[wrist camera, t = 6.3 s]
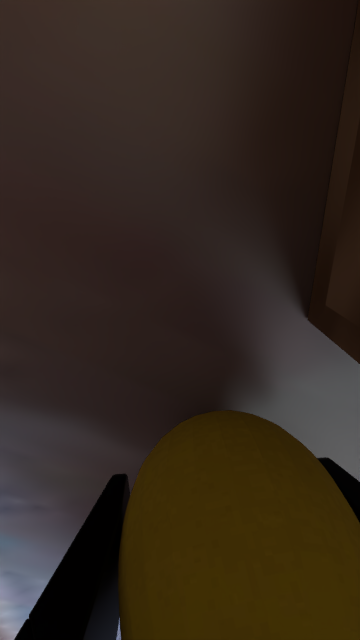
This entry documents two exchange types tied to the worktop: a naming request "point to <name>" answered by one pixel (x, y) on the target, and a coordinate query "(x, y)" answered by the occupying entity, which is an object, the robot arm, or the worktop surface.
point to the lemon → (237, 539)
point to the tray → (342, 225)
